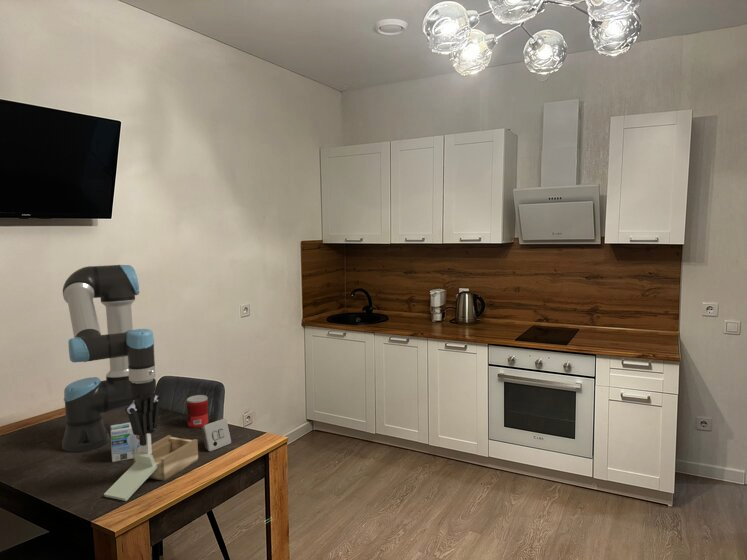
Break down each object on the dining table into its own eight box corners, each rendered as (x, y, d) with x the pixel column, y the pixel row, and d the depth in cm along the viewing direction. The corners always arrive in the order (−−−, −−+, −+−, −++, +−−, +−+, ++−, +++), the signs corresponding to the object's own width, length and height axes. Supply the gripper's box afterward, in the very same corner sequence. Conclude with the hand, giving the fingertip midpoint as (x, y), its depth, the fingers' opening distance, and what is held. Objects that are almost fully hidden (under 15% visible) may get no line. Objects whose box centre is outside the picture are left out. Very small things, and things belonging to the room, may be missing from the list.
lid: (104, 496, 154) (99, 485, 152) (138, 462, 166) (133, 451, 164) (126, 501, 151) (121, 489, 149) (158, 466, 163) (154, 455, 162)
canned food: (212, 423, 211) (211, 396, 210) (196, 430, 204) (195, 402, 203) (200, 419, 215) (198, 393, 214) (183, 426, 208) (182, 399, 207)
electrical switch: (209, 452, 184) (207, 426, 183) (201, 450, 187) (198, 424, 187) (231, 444, 191) (229, 418, 191) (223, 441, 194) (221, 417, 194)
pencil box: (134, 475, 167) (133, 454, 166) (169, 454, 182) (168, 435, 181) (164, 480, 163) (163, 459, 162) (198, 459, 178) (197, 439, 177)
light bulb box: (112, 462, 176) (110, 431, 175) (111, 455, 182) (109, 425, 181) (146, 456, 181) (144, 425, 180) (145, 448, 187) (143, 419, 186)
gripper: (136, 387, 154) (140, 464, 156) (167, 375, 166) (171, 447, 169) (116, 384, 157) (120, 460, 159) (148, 373, 169) (152, 444, 171)
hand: (146, 453), depth 164 cm, fingers closed
